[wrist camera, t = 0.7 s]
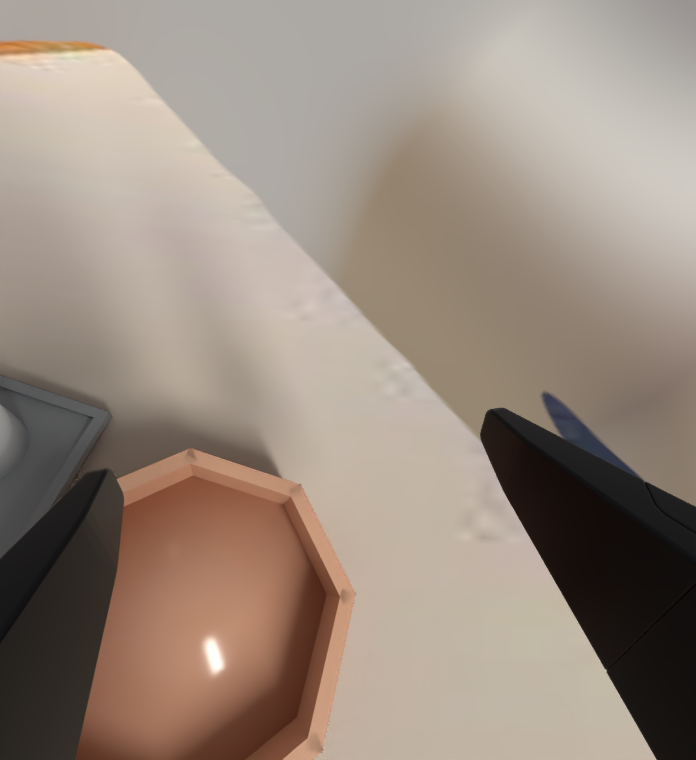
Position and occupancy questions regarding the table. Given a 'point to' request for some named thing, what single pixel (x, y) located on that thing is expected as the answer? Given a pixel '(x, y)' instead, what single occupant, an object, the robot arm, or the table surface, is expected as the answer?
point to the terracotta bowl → (217, 620)
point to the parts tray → (43, 454)
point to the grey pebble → (11, 441)
